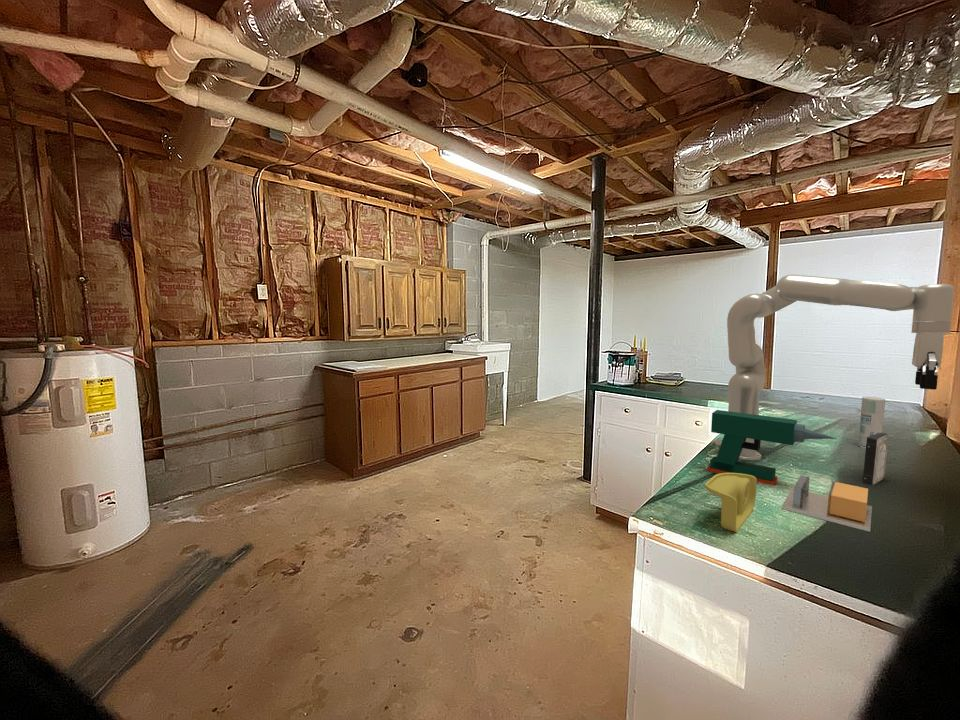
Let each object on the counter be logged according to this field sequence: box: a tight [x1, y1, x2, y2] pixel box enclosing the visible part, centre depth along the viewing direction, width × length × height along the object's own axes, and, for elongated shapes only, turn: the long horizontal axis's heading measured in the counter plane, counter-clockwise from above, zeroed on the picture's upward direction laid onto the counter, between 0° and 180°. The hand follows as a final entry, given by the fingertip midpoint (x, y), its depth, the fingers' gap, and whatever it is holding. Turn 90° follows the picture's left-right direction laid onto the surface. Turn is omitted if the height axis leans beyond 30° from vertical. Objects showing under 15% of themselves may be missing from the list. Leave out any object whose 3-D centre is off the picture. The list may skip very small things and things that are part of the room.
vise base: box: [781, 474, 873, 533], centre depth 108 cm, size 17×16×6 cm
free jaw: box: [827, 481, 869, 522], centre depth 105 cm, size 7×12×5 cm, turn 135°
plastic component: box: [704, 473, 758, 533], centre depth 104 cm, size 20×7×10 cm, turn 134°
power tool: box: [707, 409, 838, 486], centre depth 127 cm, size 32×7×20 cm, turn 47°
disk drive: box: [862, 432, 889, 486], centre depth 127 cm, size 10×3×15 cm, turn 121°
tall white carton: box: [858, 396, 886, 449], centre depth 159 cm, size 6×6×20 cm
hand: (925, 386), depth 118 cm, fingers open, 9 cm apart
